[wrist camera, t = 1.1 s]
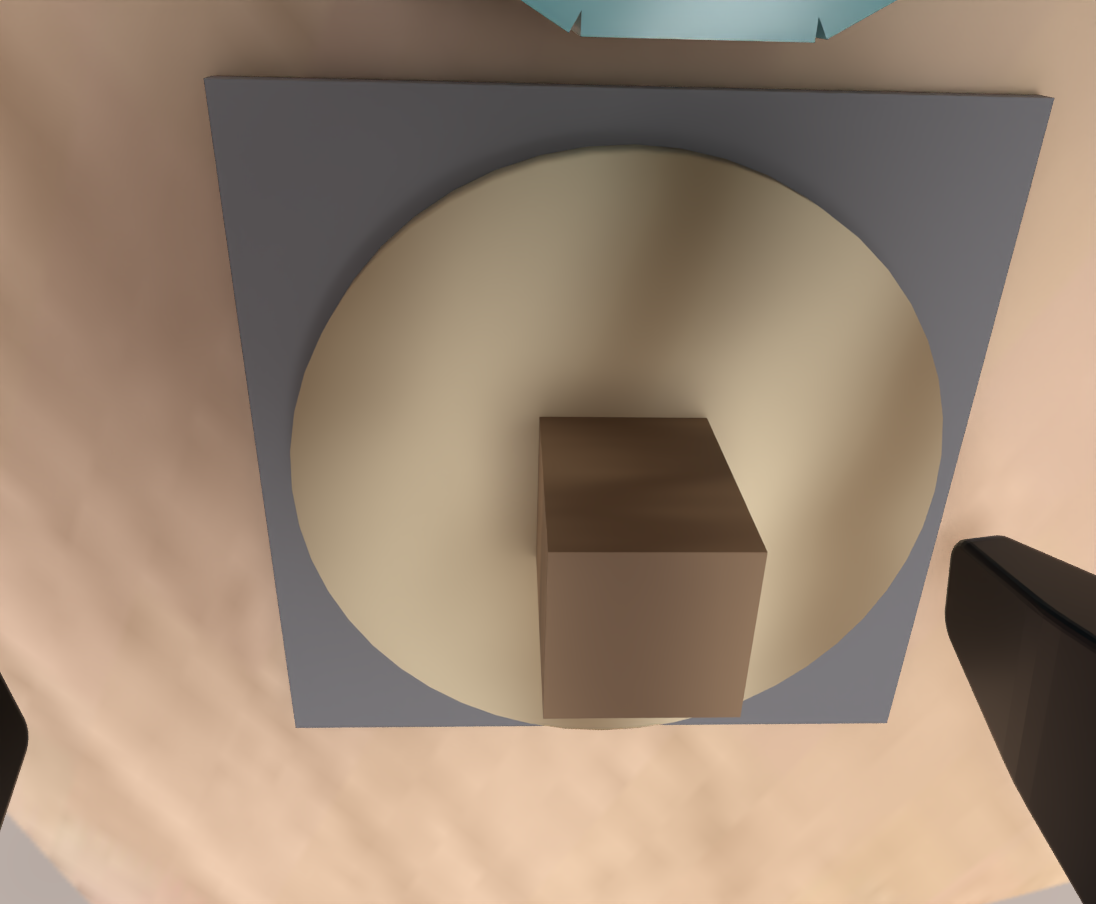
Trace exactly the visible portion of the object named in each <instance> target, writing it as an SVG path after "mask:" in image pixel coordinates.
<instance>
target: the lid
mask: <svg viewBox="0 0 1096 904" xmlns="http://www.w3.org/2000/svg"><path fill="white" fill-rule="evenodd" d="M942 428H943V413H942V404H941V396H940V387H939V379H938V375H937V371H936V368H935V364H934V360H933V357H932V353H931V350H930V346H929V342H928V340H927V337H926V335H925V333H924V331H923V329H922V326H921V324H920V322H919V320H918V318H917V315H916V313H915V311H914V309H913V307H912V305H911V303H910V301H909V300H908V298H907V297H906V295H905V294H904V292H903V291H902V289H901V288H900V286H899V285H898V283H897V282H896V280H895V279H894V277H893V276H892V274H891V273H890V271H889V270H888V269H887V268H886V267H885V265H884V264H883V263H882V262H881V261H880V260H879V259H878V258H877V257H876V256H875V255H874V254H873V252H872V251H871V250H870V249H869V248H868V247H867V246H866V245H865V244H864V243H863V242H862V241H861V239H860V238H859V237H857V236H856V235H855V234H853V233H852V232H851V231H850V230H848V229H847V228H846V227H845V226H843V225H842V224H841V223H840V222H838V221H837V220H836V219H835V218H833V217H832V216H831V215H830V214H828V213H827V212H826V211H824V210H823V209H822V208H820V207H819V206H818V205H816V204H815V203H813V202H812V201H811V200H809V199H808V198H806V197H805V196H803V195H801V194H800V193H798V192H796V191H794V190H793V189H791V188H789V187H787V186H786V185H784V184H782V183H780V182H779V181H777V180H775V179H773V178H772V177H770V176H768V175H766V174H763V173H761V172H758V171H755V170H753V169H750V168H748V167H745V166H743V165H740V164H738V163H735V162H732V161H730V160H727V159H724V158H720V157H715V156H711V155H707V154H703V153H698V152H694V151H690V150H685V149H681V148H670V147H659V146H648V145H637V144H629V145H609V146H588V147H582V148H576V149H571V150H566V151H560V152H555V153H549V154H544V155H539V156H536V157H533V158H530V159H527V160H524V161H521V162H518V163H515V164H512V165H509V166H506V167H503V168H500V169H497V170H494V171H492V172H490V173H488V174H486V175H484V176H482V177H480V178H478V179H476V180H474V181H472V182H470V183H468V184H466V185H464V186H462V187H459V188H457V189H455V190H453V191H452V192H450V193H449V194H447V195H446V196H444V197H443V198H441V199H440V200H438V201H437V202H435V203H434V204H432V205H431V206H429V207H428V208H426V209H425V210H423V211H422V212H420V213H419V214H418V215H416V216H415V217H413V218H412V219H411V220H410V221H409V222H408V223H407V224H406V225H405V226H403V227H402V228H401V229H400V230H399V231H398V232H397V233H396V234H395V235H393V236H392V237H391V238H390V239H389V240H388V241H387V242H386V243H384V244H383V245H382V246H381V247H380V249H379V250H378V251H377V252H376V253H375V255H374V256H373V257H372V258H371V259H370V260H369V262H368V263H367V264H366V265H365V266H364V268H363V269H362V270H361V271H360V272H359V274H358V275H357V276H356V277H355V278H354V280H353V281H352V283H351V285H350V286H349V288H348V289H347V291H346V293H345V294H344V296H343V297H342V299H341V301H340V302H339V304H338V306H337V307H336V309H335V310H334V312H333V314H332V315H331V317H330V319H329V321H328V323H327V324H326V326H325V328H324V330H323V332H322V334H321V336H320V338H319V340H318V343H317V345H316V347H315V350H314V352H313V354H312V357H311V359H310V361H309V364H308V366H307V368H306V371H305V373H304V377H303V380H302V384H301V388H300V392H299V396H298V400H297V403H296V407H295V411H294V419H293V428H292V438H291V447H290V459H291V480H292V492H293V497H294V502H295V507H296V512H297V517H298V522H299V526H300V529H301V532H302V535H303V537H304V540H305V543H306V546H307V549H308V551H309V554H310V557H311V560H312V562H313V563H314V565H315V567H316V569H317V571H318V573H319V575H320V577H321V579H322V580H323V582H324V584H325V586H326V588H327V590H328V592H329V593H330V594H331V596H332V597H333V599H334V600H335V601H336V603H337V604H338V605H339V607H340V608H341V610H342V611H343V612H344V614H345V615H346V617H347V618H348V619H349V621H350V622H351V623H352V624H353V625H354V626H355V627H356V628H357V629H358V630H359V631H360V632H361V633H362V634H363V635H364V636H365V638H366V639H367V640H368V641H369V642H370V643H371V644H372V645H373V646H374V647H375V648H377V649H378V650H379V651H380V652H381V653H383V654H384V655H385V656H386V657H387V658H389V659H390V660H391V661H392V662H394V663H395V664H396V665H397V666H398V667H400V668H401V669H402V670H404V671H406V672H407V673H409V674H410V675H412V676H413V677H415V678H416V679H418V680H420V681H421V682H423V683H424V684H426V685H427V686H429V687H431V688H433V689H435V690H437V691H439V692H441V693H443V694H445V695H447V696H449V697H451V698H453V699H455V700H457V701H459V702H461V703H464V704H466V705H469V706H472V707H475V708H477V709H480V710H483V711H486V712H488V713H491V714H494V715H497V716H502V717H506V718H510V719H514V720H518V721H522V722H526V723H530V724H537V725H544V726H551V727H558V728H565V729H589V730H610V729H628V728H641V727H647V726H653V725H660V724H666V723H673V722H677V721H681V720H685V719H689V718H718V717H741V711H742V705H743V701H744V700H746V699H748V698H750V697H752V696H754V695H757V694H759V693H761V692H763V691H765V690H767V689H769V688H771V687H773V686H775V685H777V684H779V683H780V682H782V681H784V680H785V679H787V678H789V677H790V676H792V675H794V674H795V673H797V672H798V671H800V670H802V669H803V668H805V667H807V666H808V665H809V664H811V663H812V662H813V661H815V660H816V659H817V658H819V657H820V656H821V655H823V654H824V653H825V652H826V651H828V650H829V649H830V648H832V647H833V646H834V645H836V644H837V643H838V642H839V641H840V640H841V639H842V638H843V637H844V636H845V635H846V634H847V633H848V632H850V631H851V630H852V629H853V628H854V627H855V626H856V625H857V624H858V623H859V622H860V621H861V620H862V619H863V618H864V617H865V616H866V615H867V613H868V612H869V611H870V610H871V609H872V607H873V606H874V605H875V604H876V603H877V601H878V600H879V599H880V598H881V597H882V595H883V594H884V593H885V592H886V591H887V589H888V588H889V586H890V585H891V583H892V582H893V580H894V578H895V577H896V575H897V574H898V572H899V571H900V569H901V568H902V566H903V565H904V563H905V562H906V560H907V558H908V556H909V554H910V552H911V550H912V548H913V546H914V544H915V542H916V540H917V538H918V536H919V534H920V532H921V530H922V528H923V525H924V522H925V519H926V516H927V513H928V510H929V507H930V504H931V501H932V498H933V495H934V492H935V487H936V482H937V476H938V471H939V465H940V460H941V455H942Z"/></svg>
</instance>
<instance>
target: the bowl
mask: <svg viewBox="0 0 1096 904" xmlns="http://www.w3.org/2000/svg"><path fill="white" fill-rule="evenodd" d="M521 1H523V2H524V3H526V4H527V5H529V6H530V7H532V8H533V9H534V10H536V11H537V12H539V13H540V14H542V15H543V16H545V17H546V18H548V19H549V20H551V21H552V22H554V23H555V24H557V25H558V26H560V27H561V28H562V29H564V30H565V31H567V32H568V33H569V31H570V30H572V31H574V32H575V33H576V34H578V35H579V36H580V37H615V38H654V39H693V40H732V41H771V42H810V43H815V38H822V39H829V38H830V37H832V36H834V35H836V34H838V33H839V32H841V31H843V30H845V29H846V28H848V27H850V26H852V25H854V24H855V23H857V22H859V21H861V20H862V19H864V18H866V17H868V16H870V15H871V14H873V13H875V12H877V11H878V10H880V9H882V8H884V7H886V6H887V5H889V4H891V3H893V2H894V1H896V0H521Z"/></svg>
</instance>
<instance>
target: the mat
mask: <svg viewBox="0 0 1096 904" xmlns="http://www.w3.org/2000/svg"><path fill="white" fill-rule="evenodd" d="M204 84H205V91H206V98H207V105H208V112H209V119H210V126H211V133H212V140H213V147H214V154H215V161H216V168H217V175H218V182H219V189H220V196H221V204H222V211H223V218H224V225H225V232H226V239H227V246H228V253H229V260H230V267H231V274H232V281H233V288H234V295H235V302H236V309H237V316H238V323H239V331H240V338H241V345H242V352H243V359H244V366H245V373H246V380H247V387H248V394H249V401H250V408H251V415H252V422H253V429H254V436H255V443H256V450H257V458H258V465H259V472H260V479H261V486H262V493H263V500H264V507H265V514H266V521H267V528H268V535H269V542H270V549H271V556H272V563H273V570H274V577H275V585H276V592H277V599H278V606H279V613H280V620H281V627H282V634H283V641H284V648H285V655H286V662H287V669H288V676H289V683H290V690H291V697H292V704H293V712H294V719H295V726H296V728H333V727H456V726H544V725H537V724H530V723H526V722H522V721H518V720H514V719H510V718H506V717H502V716H497V715H494V714H491V713H488V712H486V711H483V710H480V709H477V708H475V707H472V706H469V705H466V704H464V703H461V702H459V701H457V700H455V699H453V698H451V697H449V696H447V695H445V694H443V693H441V692H439V691H437V690H435V689H433V688H431V687H429V686H427V685H426V684H424V683H423V682H421V681H420V680H418V679H416V678H415V677H413V676H412V675H410V674H409V673H407V672H406V671H404V670H402V669H401V668H400V667H398V666H397V665H396V664H395V663H394V662H392V661H391V660H390V659H389V658H387V657H386V656H385V655H384V654H383V653H381V652H380V651H379V650H378V649H377V648H375V647H374V646H373V645H372V644H371V643H370V642H369V641H368V640H367V639H366V638H365V636H364V635H363V634H362V633H361V632H360V631H359V630H358V629H357V628H356V627H355V626H354V625H353V624H352V623H351V622H350V621H349V619H348V618H347V617H346V615H345V614H344V612H343V611H342V610H341V608H340V607H339V605H338V604H337V603H336V601H335V600H334V599H333V597H332V596H331V594H330V593H329V592H328V590H327V588H326V586H325V584H324V582H323V580H322V579H321V577H320V575H319V573H318V571H317V569H316V567H315V565H314V563H313V562H312V560H311V557H310V554H309V551H308V549H307V546H306V543H305V540H304V537H303V535H302V532H301V529H300V526H299V522H298V517H297V512H296V507H295V502H294V497H293V492H292V480H291V459H290V447H291V438H292V428H293V419H294V411H295V407H296V403H297V400H298V396H299V392H300V388H301V384H302V380H303V377H304V373H305V371H306V368H307V366H308V364H309V361H310V359H311V357H312V354H313V352H314V350H315V347H316V345H317V343H318V340H319V338H320V336H321V334H322V332H323V330H324V328H325V326H326V324H327V323H328V321H329V319H330V317H331V315H332V314H333V312H334V310H335V309H336V307H337V306H338V304H339V302H340V301H341V299H342V297H343V296H344V294H345V293H346V291H347V289H348V288H349V286H350V285H351V283H352V281H353V280H354V278H355V277H356V276H357V275H358V274H359V272H360V271H361V270H362V269H363V268H364V266H365V265H366V264H367V263H368V262H369V260H370V259H371V258H372V257H373V256H374V255H375V253H376V252H377V251H378V250H379V249H380V247H381V246H382V245H383V244H384V243H386V242H387V241H388V240H389V239H390V238H391V237H392V236H393V235H395V234H396V233H397V232H398V231H399V230H400V229H401V228H402V227H403V226H405V225H406V224H407V223H408V222H409V221H410V220H411V219H412V218H413V217H415V216H416V215H418V214H419V213H420V212H422V211H423V210H425V209H426V208H428V207H429V206H431V205H432V204H434V203H435V202H437V201H438V200H440V199H441V198H443V197H444V196H446V195H447V194H449V193H450V192H452V191H453V190H455V189H457V188H459V187H462V186H464V185H466V184H468V183H470V182H472V181H474V180H476V179H478V178H480V177H482V176H484V175H486V174H488V173H490V172H492V171H494V170H497V169H500V168H503V167H506V166H509V165H512V164H515V163H518V162H521V161H524V160H527V159H530V158H533V157H536V156H539V155H544V154H549V153H555V152H560V151H566V150H571V149H576V148H582V147H588V146H609V145H629V144H637V145H648V146H659V147H670V148H681V149H685V150H690V151H694V152H698V153H703V154H707V155H711V156H715V157H720V158H724V159H727V160H730V161H732V162H735V163H738V164H740V165H743V166H745V167H748V168H750V169H753V170H755V171H758V172H761V173H763V174H766V175H768V176H770V177H772V178H773V179H775V180H777V181H779V182H780V183H782V184H784V185H786V186H787V187H789V188H791V189H793V190H794V191H796V192H798V193H800V194H801V195H803V196H805V197H806V198H808V199H809V200H811V201H812V202H813V203H815V204H816V205H818V206H819V207H820V208H822V209H823V210H824V211H826V212H827V213H828V214H830V215H831V216H832V217H833V218H835V219H836V220H837V221H838V222H840V223H841V224H842V225H843V226H845V227H846V228H847V229H848V230H850V231H851V232H852V233H853V234H855V235H856V236H857V237H859V238H860V239H861V241H862V242H863V243H864V244H865V245H866V246H867V247H868V248H869V249H870V250H871V251H872V252H873V254H874V255H875V256H876V257H877V258H878V259H879V260H880V261H881V262H882V263H883V264H884V265H885V267H886V268H887V269H888V270H889V271H890V273H891V274H892V276H893V277H894V279H895V280H896V282H897V283H898V285H899V286H900V288H901V289H902V291H903V292H904V294H905V295H906V297H907V298H908V300H909V301H910V303H911V305H912V307H913V309H914V311H915V313H916V315H917V318H918V320H919V322H920V324H921V326H922V329H923V331H924V333H925V335H926V337H927V340H928V342H929V346H930V350H931V353H932V357H933V360H934V364H935V368H936V371H937V375H938V379H939V387H940V396H941V404H942V413H943V428H942V455H941V460H940V465H939V471H938V476H937V482H936V487H935V492H934V495H933V498H932V501H931V504H930V507H929V510H928V513H927V516H926V519H925V522H924V525H923V528H922V530H921V532H920V534H919V536H918V538H917V540H916V542H915V544H914V546H913V548H912V550H911V552H910V554H909V556H908V558H907V560H906V562H905V563H904V565H903V566H902V568H901V569H900V571H899V572H898V574H897V575H896V577H895V578H894V580H893V582H892V583H891V585H890V586H889V588H888V589H887V591H886V592H885V593H884V594H883V595H882V597H881V598H880V599H879V600H878V601H877V603H876V604H875V605H874V606H873V607H872V609H871V610H870V611H869V612H868V613H867V615H866V616H865V617H864V618H863V619H862V620H861V621H860V622H859V623H858V624H857V625H856V626H855V627H854V628H853V629H852V630H851V631H850V632H848V633H847V634H846V635H845V636H844V637H843V638H842V639H841V640H840V641H839V642H838V643H837V644H836V645H834V646H833V647H832V648H830V649H829V650H828V651H826V652H825V653H824V654H823V655H821V656H820V657H819V658H817V659H816V660H815V661H813V662H812V663H811V664H809V665H808V666H807V667H805V668H803V669H802V670H800V671H798V672H797V673H795V674H794V675H792V676H790V677H789V678H787V679H785V680H784V681H782V682H780V683H779V684H777V685H775V686H773V687H771V688H769V689H767V690H765V691H763V692H761V693H759V694H757V695H754V696H752V697H750V698H748V699H746V700H744V701H743V705H742V711H741V717H718V718H689V719H685V720H681V721H677V722H673V723H666V724H660V725H704V724H827V723H887V720H888V717H889V713H890V709H891V705H892V702H893V698H894V694H895V691H896V687H897V683H898V679H899V676H900V672H901V668H902V664H903V661H904V657H905V653H906V649H907V646H908V642H909V638H910V635H911V631H912V627H913V623H914V620H915V616H916V612H917V608H918V605H919V601H920V597H921V593H922V590H923V586H924V582H925V579H926V575H927V571H928V567H929V564H930V560H931V556H932V552H933V549H934V545H935V541H936V538H937V534H938V530H939V526H940V523H941V519H942V515H943V511H944V508H945V504H946V500H947V496H948V493H949V489H950V485H951V482H952V478H953V474H954V470H955V467H956V463H957V459H958V455H959V452H960V448H961V444H962V441H963V437H964V433H965V429H966V426H967V422H968V418H969V414H970V411H971V407H972V403H973V399H974V396H975V392H976V388H977V385H978V381H979V377H980V373H981V370H982V366H983V362H984V358H985V355H986V351H987V347H988V344H989V340H990V336H991V332H992V329H993V325H994V321H995V317H996V314H997V310H998V306H999V302H1000V299H1001V295H1002V291H1003V288H1004V284H1005V280H1006V276H1007V273H1008V269H1009V265H1010V261H1011V258H1012V254H1013V250H1014V247H1015V243H1016V239H1017V235H1018V232H1019V228H1020V224H1021V220H1022V217H1023V213H1024V209H1025V205H1026V202H1027V198H1028V194H1029V191H1030V187H1031V183H1032V179H1033V176H1034V172H1035V168H1036V164H1037V161H1038V157H1039V153H1040V149H1041V146H1042V142H1043V138H1044V135H1045V131H1046V127H1047V123H1048V120H1049V116H1050V112H1051V108H1052V105H1053V101H1054V98H1052V97H1047V96H1042V95H1010V94H967V93H924V92H881V91H838V90H795V89H753V88H710V87H667V86H624V85H581V84H538V83H495V82H453V81H410V80H367V79H324V78H281V77H238V76H210V77H207V78H204Z"/></svg>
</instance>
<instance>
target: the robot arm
mask: <svg viewBox="0 0 1096 904" xmlns="http://www.w3.org/2000/svg"><path fill="white" fill-rule="evenodd" d="M945 623H946V628H947V632H948V635H949V638H950V641H951V643H952V645H953V647H954V650H955V652H956V654H957V657H958V659H959V661H960V663H961V666H962V668H963V670H964V673H965V675H966V677H967V679H968V682H969V684H970V686H971V688H972V691H973V693H974V695H975V698H976V700H977V702H978V704H979V707H980V709H981V711H982V713H983V716H984V718H985V720H986V723H987V725H988V727H989V729H990V732H991V734H992V736H993V738H994V741H995V743H996V745H997V748H998V750H999V752H1000V754H1001V757H1002V759H1003V761H1004V763H1005V765H1006V767H1007V770H1008V772H1009V774H1010V776H1011V778H1012V780H1013V782H1014V784H1015V786H1016V788H1017V790H1018V791H1019V793H1020V795H1021V797H1022V799H1023V801H1024V802H1025V804H1026V806H1027V808H1028V810H1029V811H1030V813H1031V815H1032V817H1033V818H1034V820H1035V822H1036V824H1037V825H1038V827H1039V829H1040V830H1041V832H1042V834H1043V836H1044V837H1045V839H1046V841H1047V843H1048V844H1049V846H1050V848H1051V849H1052V851H1053V853H1054V855H1055V856H1056V858H1057V860H1058V862H1059V863H1060V865H1061V867H1062V868H1063V870H1064V872H1065V874H1066V875H1067V877H1068V879H1069V881H1070V882H1071V884H1072V886H1073V887H1074V889H1075V891H1076V893H1077V894H1078V896H1079V898H1080V899H1081V901H1082V903H1083V904H1096V575H1094V574H1092V573H1089V572H1087V571H1085V570H1082V569H1080V568H1078V567H1075V566H1073V565H1071V564H1068V563H1066V562H1064V561H1062V560H1059V559H1057V558H1055V557H1052V556H1050V555H1048V554H1045V553H1043V552H1041V551H1038V550H1036V549H1034V548H1031V547H1029V546H1027V545H1024V544H1022V543H1020V542H1017V541H1015V540H1013V539H1010V538H1008V537H1005V536H999V535H996V536H988V537H980V538H972V539H964V540H960V541H959V542H958V543H957V544H956V545H955V546H954V548H953V550H952V553H951V559H950V568H949V577H948V587H947V596H946V605H945ZM27 746H28V728H27V724H26V721H25V719H24V717H23V715H22V713H21V711H20V709H19V707H18V705H17V703H16V702H15V700H14V698H13V696H12V694H11V692H10V690H9V688H8V686H7V684H6V682H5V680H4V679H3V677H2V675H1V673H0V830H1V827H2V824H3V821H4V818H5V815H6V812H7V809H8V806H9V803H10V800H11V796H12V793H13V790H14V787H15V784H16V781H17V778H18V775H19V772H20V769H21V766H22V763H23V760H24V757H25V754H26V751H27Z"/></svg>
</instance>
